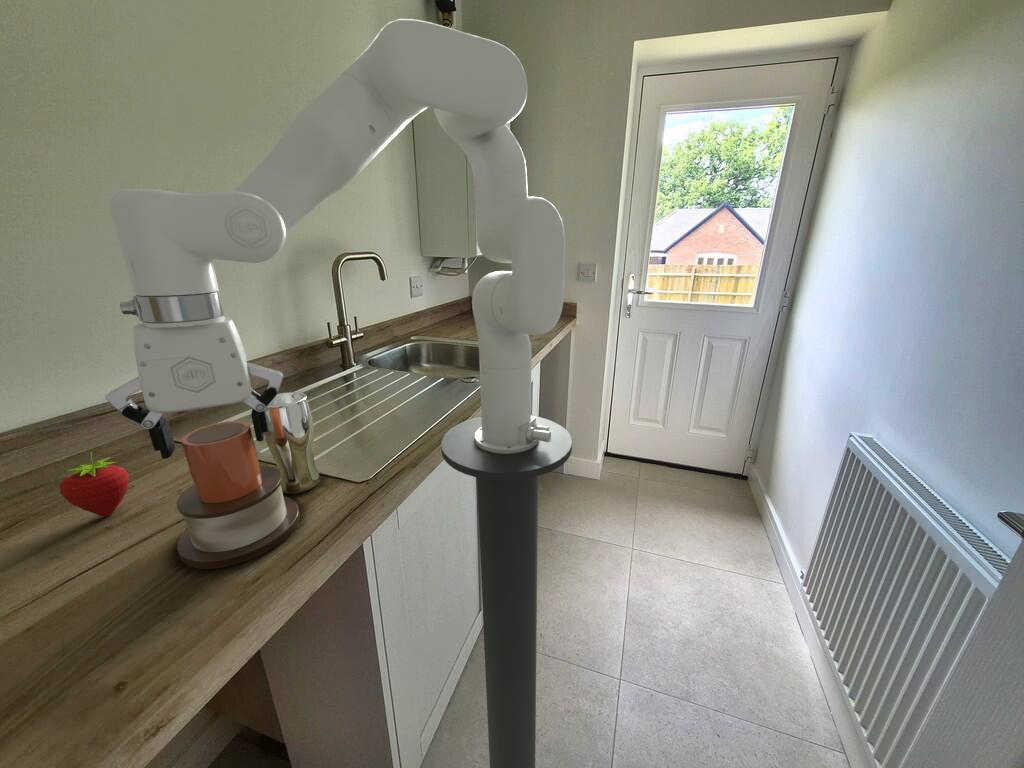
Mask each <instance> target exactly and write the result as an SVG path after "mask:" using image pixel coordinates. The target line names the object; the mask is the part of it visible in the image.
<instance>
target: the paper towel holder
mask: <svg viewBox="0 0 1024 768" xmlns="http://www.w3.org/2000/svg"><path fill="white" fill-rule="evenodd" d="M260 469H261V473H262V477H263V481H262V483H261V485H260V486H259V487H258V488H257V489H255V490H254V491H253V492H251V493H249V494H247V495H245V496H243V497H240V498H238V499H235V500H231V501H227V502H222V503H205V502H202V501H200V500H199V498H198V496H197V492H196V489H195V486H194V483H193V484H191V486H189V487H187V488H186V489H185V490H184V491H183V492H181V493H180V495H179V497H178V498H177V500H176V509H177V511H178V513H179V514H181V515H182V517H183V520H184V523H185V527H186V529H185V530H184V531H183V532H182V533H181V535H180V537H179V538H178V540H177V544H176V550H177V553H178V555H179V558H180V560H181V561H182V563H183V564H185V565H187V567H188V566H189V567H190V568H194V569H201V570H214V569H215V570H216V569H222V568H223V569H224V568H229V567H232V566H236V565H239V564H240V565H241V564H242V563H246V562H248V561H250V560H254V559H256V558H258V557H260V556H262V555H264V554H266V553H268V552H269V551H271V550H273V549H274V548H277V547H278V546H279V545H280V544H281V543H283V542H285V540H286V539H287V538H289V536H291V535H292V533H294V531H295V529H296V528H297V527H298V524H299V522H300V520H301V519H300V517H301V515H300V510H299V506H298V504H297V502H296V501H295V500H294V499H292V498H290V497H288V496H285V495H284V493H283V492H282V488H281V482H282V476H281V473H280V472H279V470H278V468H276V467H274V466H269V465H264V464H263V465H261V464H260Z"/></svg>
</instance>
